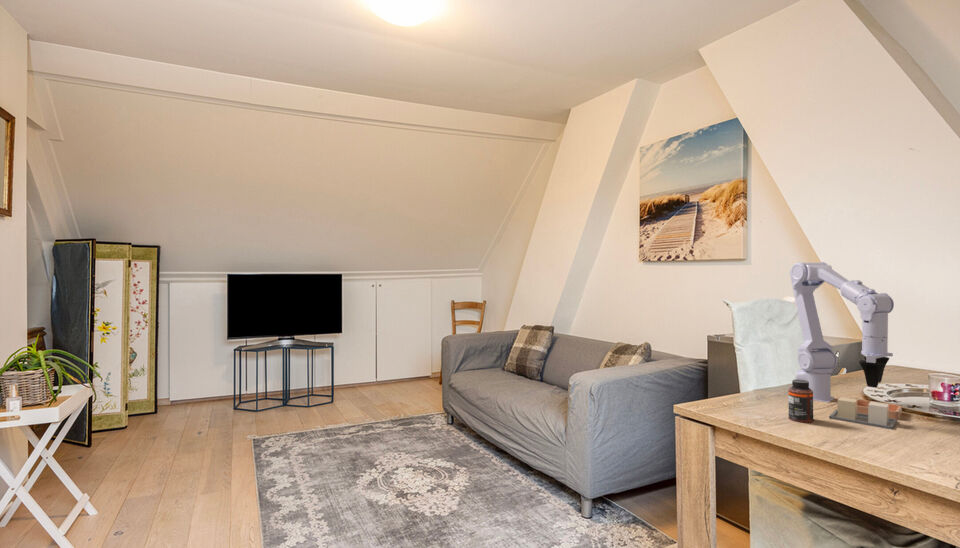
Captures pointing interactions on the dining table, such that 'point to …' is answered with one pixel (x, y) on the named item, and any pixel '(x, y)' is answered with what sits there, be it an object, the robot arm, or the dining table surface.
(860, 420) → the parts tray
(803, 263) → the robot arm
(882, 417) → the cream cube on tray
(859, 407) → the terracotta dish
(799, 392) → the supplement bottle
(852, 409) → the tan cube
